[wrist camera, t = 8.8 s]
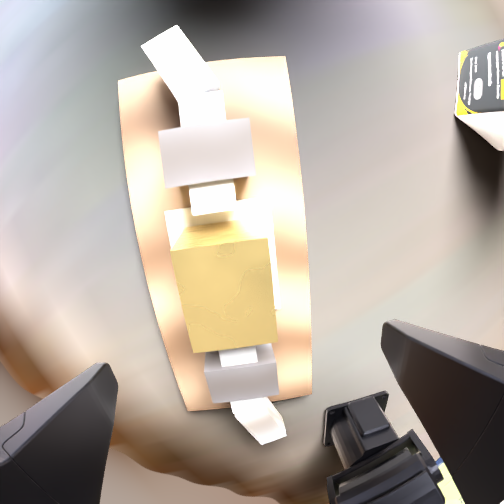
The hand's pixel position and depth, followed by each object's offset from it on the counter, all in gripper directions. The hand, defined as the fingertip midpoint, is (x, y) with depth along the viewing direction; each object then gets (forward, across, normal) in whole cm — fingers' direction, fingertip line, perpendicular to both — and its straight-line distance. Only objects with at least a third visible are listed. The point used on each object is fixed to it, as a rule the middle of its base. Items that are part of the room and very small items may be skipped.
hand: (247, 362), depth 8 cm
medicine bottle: (+11, -24, -11) cm, 28 cm away
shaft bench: (+11, 0, 0) cm, 11 cm away
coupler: (+9, 0, 0) cm, 9 cm away
